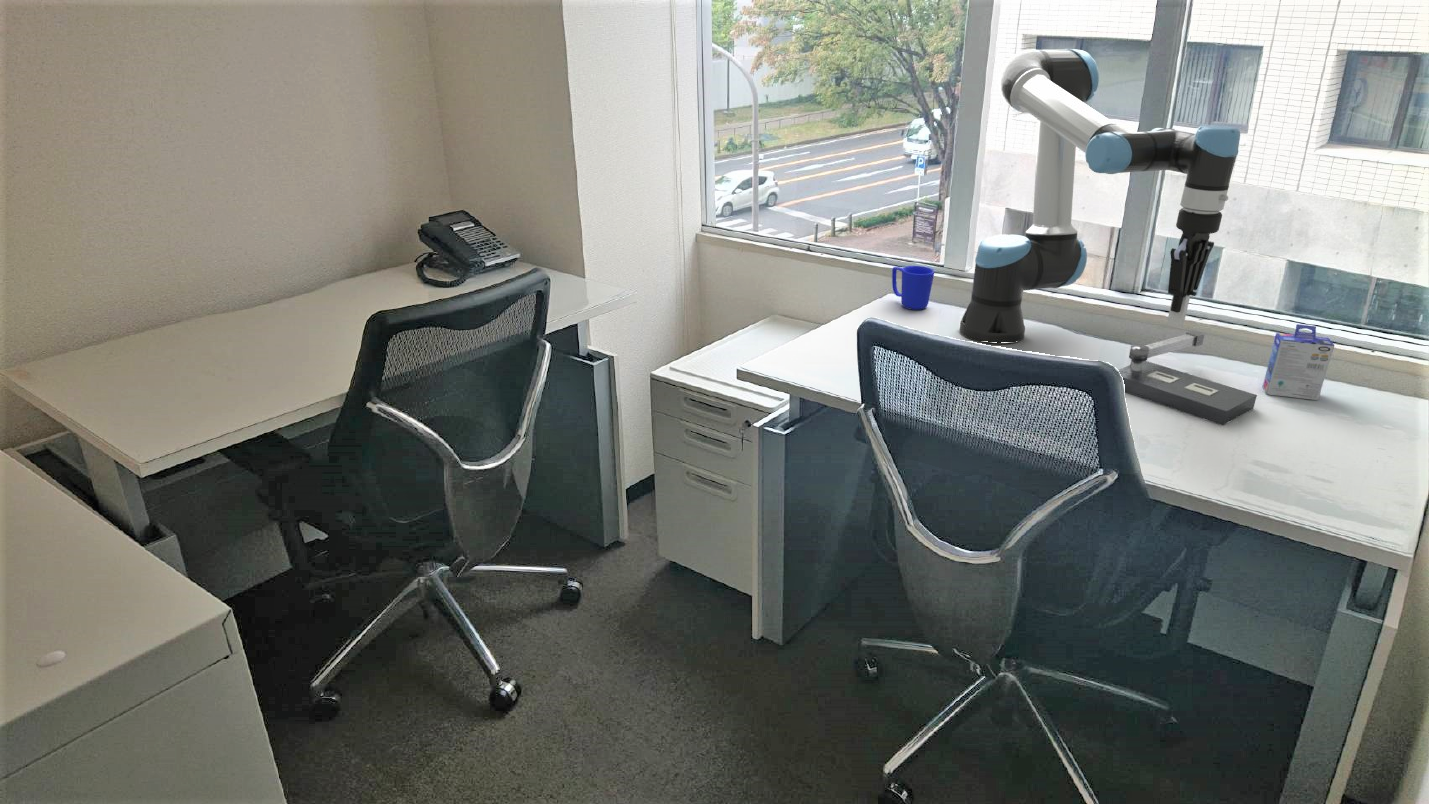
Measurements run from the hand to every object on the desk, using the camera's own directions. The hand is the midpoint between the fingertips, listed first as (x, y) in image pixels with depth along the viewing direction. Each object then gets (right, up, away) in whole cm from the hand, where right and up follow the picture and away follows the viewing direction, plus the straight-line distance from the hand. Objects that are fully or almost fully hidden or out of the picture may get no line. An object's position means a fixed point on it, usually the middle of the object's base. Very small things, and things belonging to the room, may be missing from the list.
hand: (1174, 325), depth 187 cm
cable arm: (+4, -5, +12) cm, 14 cm away
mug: (-42, +10, +57) cm, 72 cm away
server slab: (+2, -14, +3) cm, 15 cm away
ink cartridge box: (+27, -14, +6) cm, 31 cm away
